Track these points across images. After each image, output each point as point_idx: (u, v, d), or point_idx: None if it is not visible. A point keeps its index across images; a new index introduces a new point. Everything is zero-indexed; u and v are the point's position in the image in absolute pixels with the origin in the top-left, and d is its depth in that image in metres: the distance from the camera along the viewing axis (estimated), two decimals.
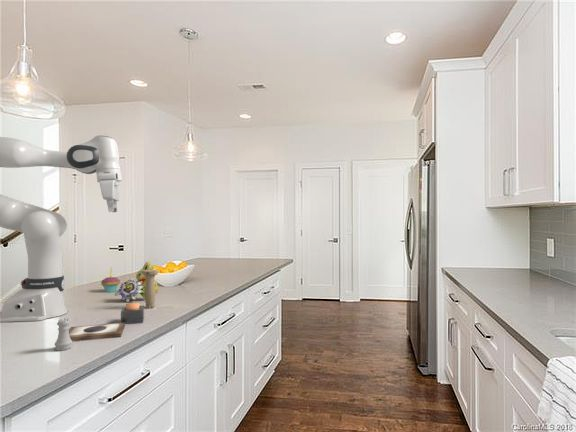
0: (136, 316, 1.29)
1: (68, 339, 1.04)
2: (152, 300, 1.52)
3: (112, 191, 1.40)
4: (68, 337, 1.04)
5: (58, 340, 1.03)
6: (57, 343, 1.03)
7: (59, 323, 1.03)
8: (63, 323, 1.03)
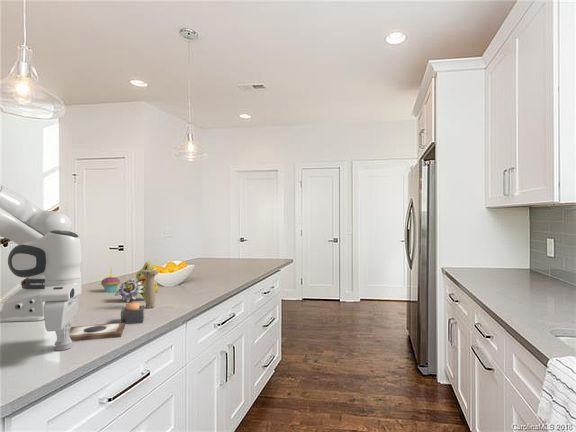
0: (136, 316, 1.29)
1: (68, 339, 1.04)
2: (152, 300, 1.52)
3: (61, 320, 0.96)
4: (68, 337, 1.04)
5: None
6: (57, 343, 1.03)
7: None
8: None
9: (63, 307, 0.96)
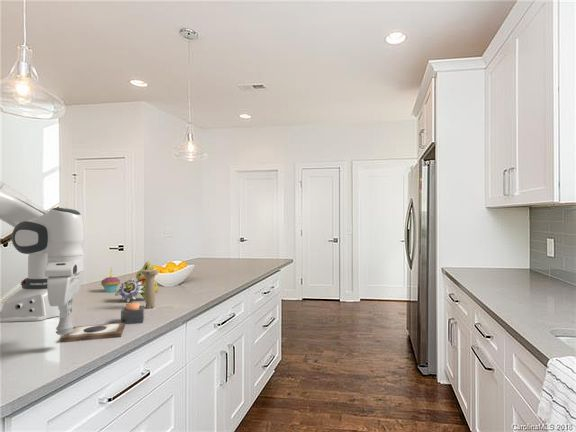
0: (136, 316, 1.29)
1: (70, 323, 1.05)
2: (152, 300, 1.52)
3: (64, 295, 0.96)
4: (69, 321, 1.05)
5: (60, 324, 1.04)
6: (59, 327, 1.03)
7: None
8: None
9: (66, 282, 0.97)
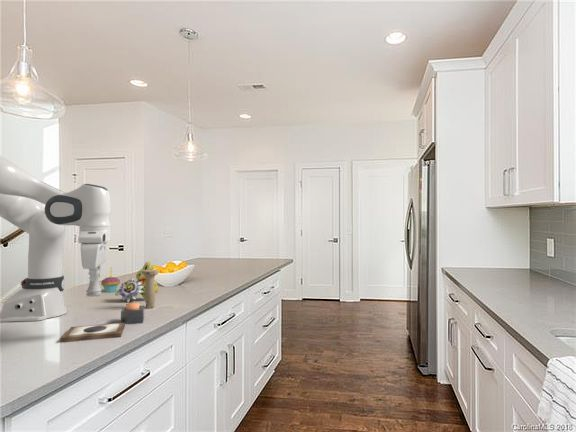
0: (136, 316, 1.29)
1: (98, 287, 1.17)
2: (152, 300, 1.52)
3: (95, 259, 1.09)
4: (98, 285, 1.18)
5: (89, 287, 1.16)
6: (89, 290, 1.16)
7: None
8: None
9: (97, 248, 1.10)
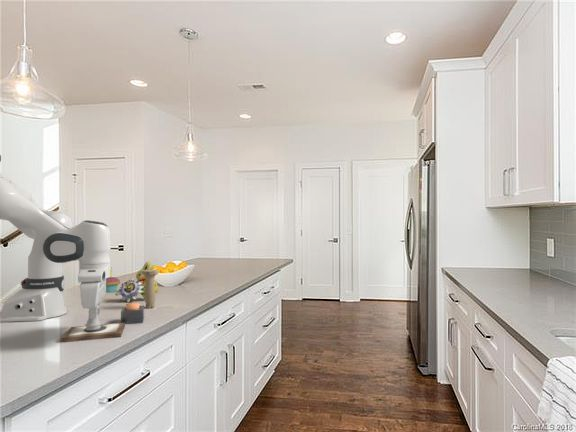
0: (136, 316, 1.29)
1: (97, 321, 1.17)
2: (152, 300, 1.52)
3: (95, 298, 1.09)
4: (97, 319, 1.17)
5: (89, 321, 1.16)
6: (88, 324, 1.16)
7: None
8: None
9: (97, 287, 1.09)
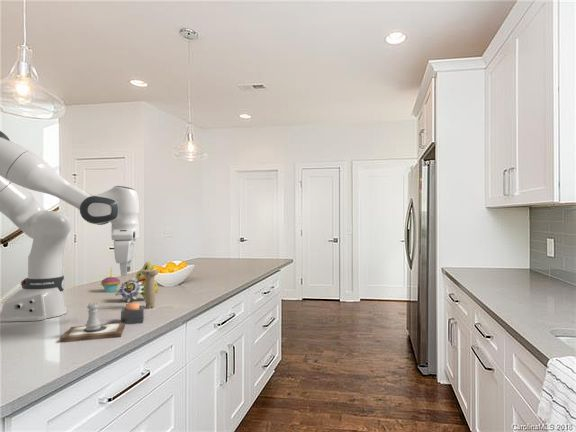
0: (136, 316, 1.29)
1: (97, 321, 1.17)
2: (152, 300, 1.52)
3: (127, 254, 1.20)
4: (97, 319, 1.17)
5: (88, 322, 1.16)
6: (88, 324, 1.16)
7: (89, 306, 1.16)
8: (93, 306, 1.16)
9: (128, 244, 1.21)
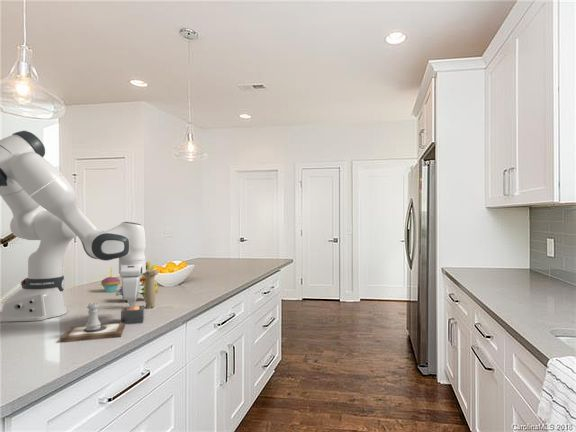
0: (136, 316, 1.29)
1: (97, 321, 1.17)
2: (152, 300, 1.52)
3: (135, 291, 1.23)
4: (97, 319, 1.17)
5: (88, 321, 1.16)
6: (88, 324, 1.16)
7: (89, 306, 1.16)
8: (93, 306, 1.16)
9: (136, 281, 1.24)
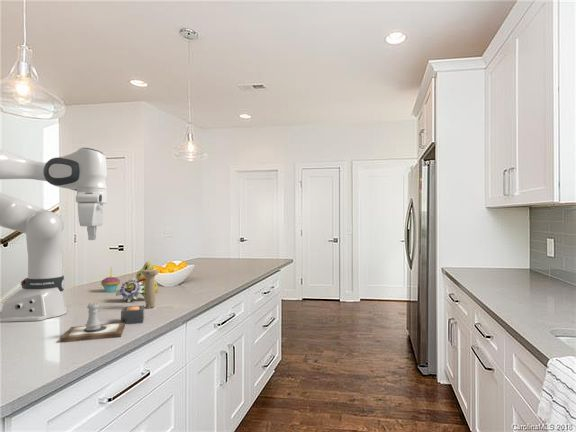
0: (136, 316, 1.29)
1: (97, 321, 1.17)
2: (152, 300, 1.52)
3: (92, 217, 1.14)
4: (97, 319, 1.17)
5: (88, 321, 1.16)
6: (88, 324, 1.16)
7: (89, 306, 1.16)
8: (93, 306, 1.16)
9: (93, 207, 1.15)
